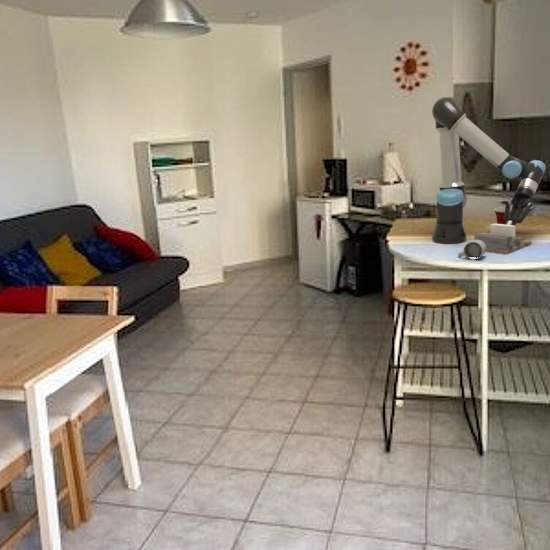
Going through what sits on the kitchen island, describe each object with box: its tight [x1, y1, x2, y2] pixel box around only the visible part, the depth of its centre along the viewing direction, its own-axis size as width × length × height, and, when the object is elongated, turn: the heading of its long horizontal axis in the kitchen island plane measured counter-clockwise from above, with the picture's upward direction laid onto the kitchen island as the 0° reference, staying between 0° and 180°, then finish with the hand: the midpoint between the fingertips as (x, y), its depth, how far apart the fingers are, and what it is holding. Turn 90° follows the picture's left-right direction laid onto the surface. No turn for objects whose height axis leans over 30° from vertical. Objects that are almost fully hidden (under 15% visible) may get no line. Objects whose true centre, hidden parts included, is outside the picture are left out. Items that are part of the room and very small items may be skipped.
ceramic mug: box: [457, 239, 486, 260], centre depth 235 cm, size 11×8×8 cm
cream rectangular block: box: [489, 222, 517, 239], centre depth 248 cm, size 3×10×8 cm, turn 41°
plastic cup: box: [493, 205, 513, 224], centre depth 274 cm, size 11×11×12 cm
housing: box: [473, 232, 532, 255], centre depth 248 cm, size 22×16×6 cm
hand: (505, 234), depth 249 cm, fingers closed
